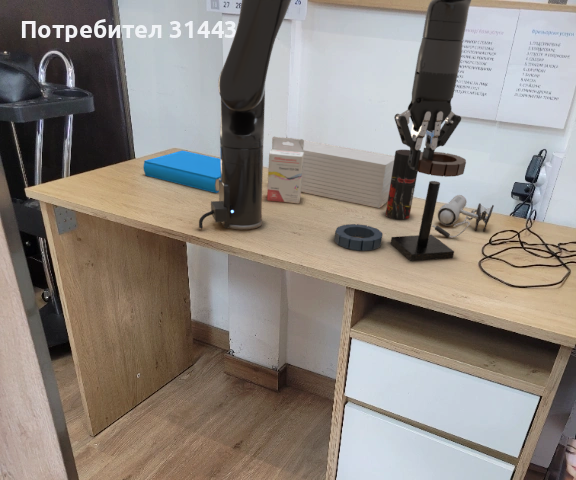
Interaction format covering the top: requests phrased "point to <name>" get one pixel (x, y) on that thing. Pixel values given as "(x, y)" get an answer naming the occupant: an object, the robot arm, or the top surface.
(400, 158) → the deodorant
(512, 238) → the top surface
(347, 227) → the slate ring
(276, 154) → the ink cartridge box
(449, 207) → the clip-on lamp
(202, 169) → the book
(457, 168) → the walnut ring
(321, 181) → the light grey ridged block
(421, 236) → the stand
